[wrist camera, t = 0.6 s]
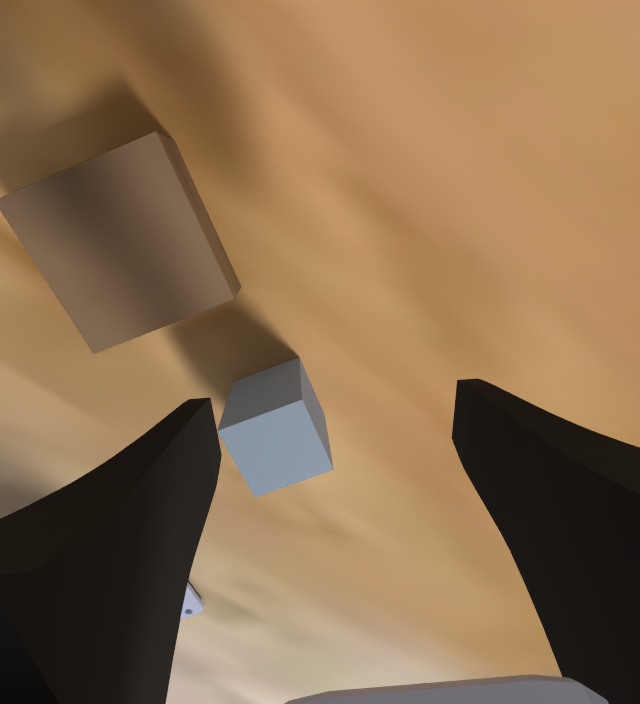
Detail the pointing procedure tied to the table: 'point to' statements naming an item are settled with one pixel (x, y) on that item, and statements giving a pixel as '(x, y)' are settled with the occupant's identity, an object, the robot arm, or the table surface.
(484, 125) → the table surface
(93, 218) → the walnut pedestal
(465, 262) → the table surface
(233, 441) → the blue block
